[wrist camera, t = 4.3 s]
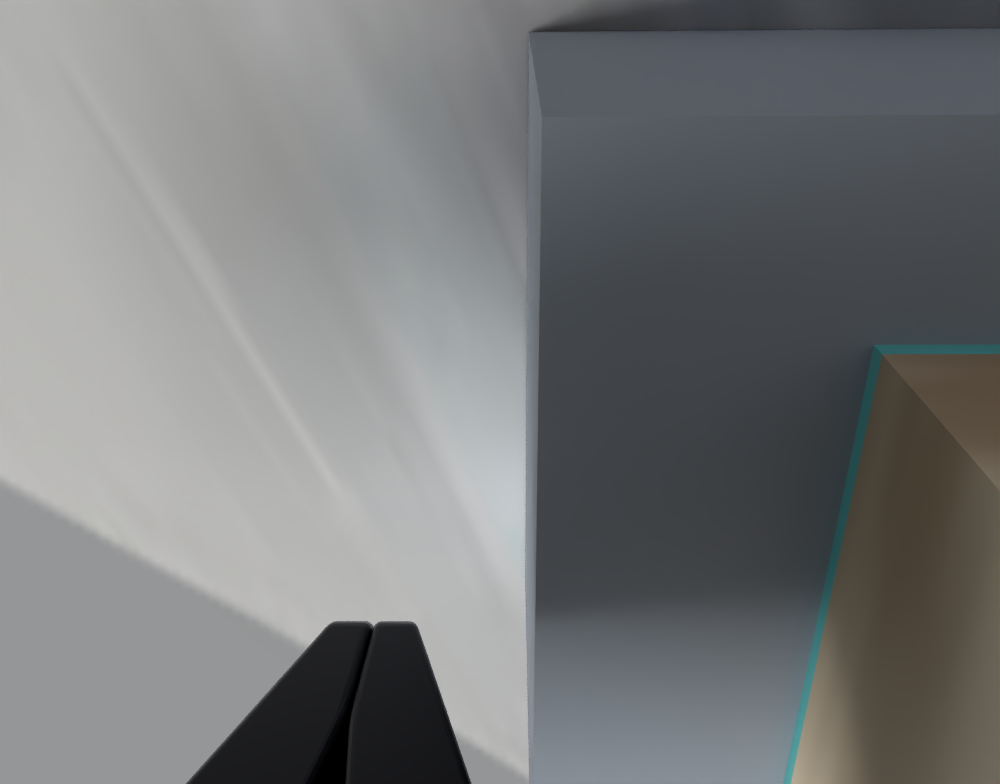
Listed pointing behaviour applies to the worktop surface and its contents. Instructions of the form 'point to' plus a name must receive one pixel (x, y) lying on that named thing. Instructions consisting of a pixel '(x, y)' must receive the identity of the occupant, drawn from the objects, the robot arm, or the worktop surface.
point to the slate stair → (723, 359)
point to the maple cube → (912, 583)
